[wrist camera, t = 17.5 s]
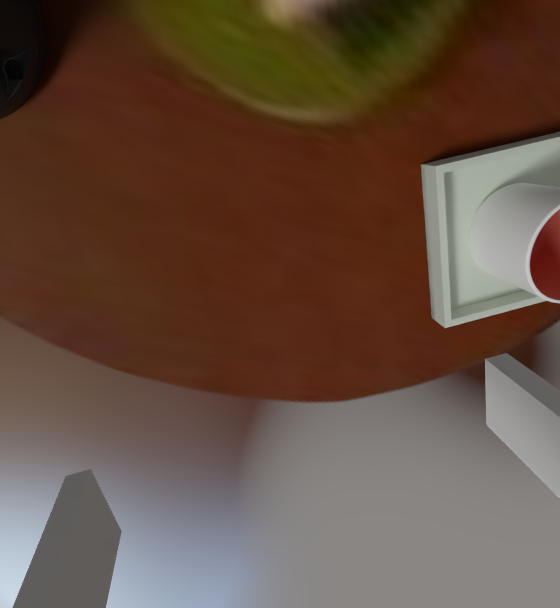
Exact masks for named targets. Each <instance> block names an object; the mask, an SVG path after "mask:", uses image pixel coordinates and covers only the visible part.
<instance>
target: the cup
mask: <svg viewBox="0 0 560 608" xmlns="http://www.w3.org/2000/svg"><path fill="white" fill-rule="evenodd" d="M468 244H469V249H470V253H471V256H472V258H473V259H474V261H475V262H476V264H477V265H478V266H479V267H480V268H481V269H483V270H484V271H485V272H487V273H489V274H491V275H493V276H495V277H498V278H500V279H502V280H504V281H506V282H508V283H510V284H513V285H515V286H517V287H519V288H521V289H523V290H525V291H527V292H530V293H532V294H534V295H536V296H538V297H540V298H542V299H545V300H547V301H550V302H555V303H560V188H559V187H552V186H545V185H537V184H530V183H517V184H512V185H508V186H506V187H503V188H501V189H499V190H497V191H496V192H494V193H493V194H492V195H490V196H489V197H488V198H487V199H486V200H485V201H484V202H483V203H482V204H481V205H480V207H479V208H478V210H477V211H476V213H475V215H474V217H473V219H472V221H471V224H470V228H469V234H468Z"/></svg>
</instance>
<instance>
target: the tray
mask: <svg viewBox="0 0 560 608" xmlns="http://www.w3.org/2000/svg"><path fill="white" fill-rule="evenodd" d="M421 173H422V187H423V201H424V215H425V229H426V243H427V257H428V271H429V285H430V299H431V313H432V318H433V319H434V320H435V321H437V322H438V323H439V324H441V325H442V326H443V327H444V328H447V327H451V326H454V325H458V324H462V323H466V322H469V321H473V320H477V319H480V318H484V317H488V316H491V315H495V314H499V313H502V312H506V311H510V310H514V309H517V308H521V307H525V306H528V305H532V304H536V303H539V302H543V301H547V300H545V299H542V298H540V297H538V296H536V295H534V294H532V293H530V292H527V291H525V290H523V289H521V288H519V287H517V286H515V285H513V284H510V283H508V282H506V281H504V280H502V279H500V278H498V277H495V276H493V275H491V274H489V273H487V272H485V271H484V270H483V269H481V268H480V267H479V266H478V265H477V264H476V262H475V261H474V259H473V258H472V256H471V253H470V249H469V244H468V234H469V228H470V224H471V221H472V219H473V217H474V215H475V213H476V211H477V210H478V208H479V207H480V205H481V204H482V203H483V202H484V201H485V200H486V199H487V198H488V197H489V196H490V195H492V194H493V193H494V192H496V191H497V190H499V189H501V188H503V187H506V186H508V185H512V184H517V183H530V184H537V185H545V186H552V187H559V188H560V132H556V133H552V134H548V135H543V136H539V137H535V138H531V139H527V140H522V141H518V142H514V143H510V144H505V145H501V146H497V147H493V148H489V149H484V150H480V151H476V152H472V153H467V154H463V155H459V156H455V157H451V158H446V159H442V160H438V161H434V162H429V163H425V164H421Z"/></svg>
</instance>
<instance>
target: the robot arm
mask: <svg viewBox="0 0 560 608" xmlns="http://www.w3.org/2000/svg"><path fill="white" fill-rule="evenodd" d="M45 55H46V32H45V24H44V19H43V15H42V11H41V7H40V4H39V1H38V0H0V119H1V118H3V117H5V116H7V115H9V114H11V113H12V112H14V111H15V110H16V109H18V108H19V107H20V106H21V105H22V104H23V103H24V102H25V101H26V100H27V99H28V98H29V96H30V95H31V94H32V92H33V91H34V89H35V87H36V85H37V83H38V81H39V79H40V76H41V73H42V70H43V66H44V62H45ZM485 373H486V374H485V375H486V424H487V426H488V427H489V428H490V429H491V430H492V431H493V432H494V433H495V434H496V435H497V436H498V437H499V438H500V439H501V440H502V441H503V442H504V443H505V444H506V445H507V446H508V447H509V448H510V449H511V450H512V451H513V452H514V453H515V454H516V455H517V456H518V457H519V458H520V459H521V460H522V461H523V462H524V463H525V464H526V465H527V466H528V467H529V468H530V469H531V470H532V471H533V472H534V473H535V474H536V475H537V476H538V477H539V478H540V479H541V480H542V481H543V482H544V483H545V484H546V485H547V486H548V487H549V488H550V489H551V490H552V491H553V492H554V493H555V494H556V495H557V496H558V497H559V498H560V391H559V390H558V389H556V388H555V387H554V386H552V385H551V384H549V383H548V382H546V381H545V380H544V379H542V378H541V377H539V376H538V375H537V374H535V373H534V372H532V371H531V370H530V369H528V368H527V367H525V366H524V365H522V364H521V363H520V362H518V361H517V360H515V359H514V358H513V357H511V356H510V355H508V354H507V353H505V354H502V355H498V356H495V357H491V358H487V359H485ZM120 536H121V529H120V527H119V525H118V523H117V521H116V520H115V517H114V515H113V513H112V511H111V509H110V507H109V505H108V503H107V501H106V499H105V497H104V495H103V493H102V491H101V489H100V487H99V485H98V483H97V481H96V479H95V477H94V475H93V473H92V471H91V469H89V470H86V471H82V472H79V473H75V474H72V475H68V476H66V477H65V479H64V482H63V484H62V487H61V489H60V492H59V494H58V497H57V499H56V502H55V504H54V507H53V509H52V512H51V514H50V517H49V519H48V521H47V524H46V527H45V529H44V531H43V534H42V537H41V539H40V542H39V544H38V546H37V549H36V551H35V554H34V556H33V559H32V561H31V564H30V566H29V568H28V571H27V573H26V576H25V578H24V581H23V583H22V586H21V588H20V591H19V593H18V596H17V598H16V601H15V603H14V606H13V608H106V604H107V599H108V594H109V589H110V584H111V579H112V575H113V570H114V565H115V560H116V555H117V550H118V546H119V540H120Z"/></svg>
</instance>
